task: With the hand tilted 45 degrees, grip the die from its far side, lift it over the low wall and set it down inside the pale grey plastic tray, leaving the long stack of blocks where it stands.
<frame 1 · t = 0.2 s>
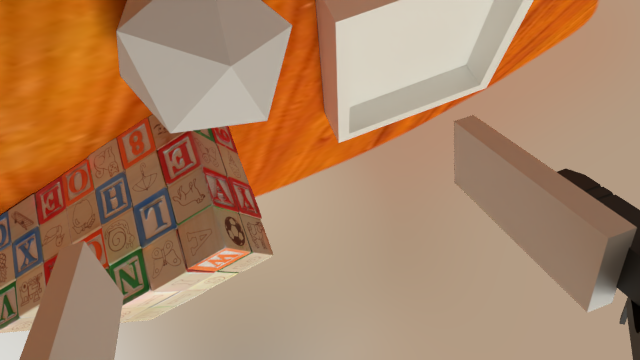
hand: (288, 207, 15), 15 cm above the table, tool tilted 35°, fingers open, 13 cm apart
tray: (408, 29, 33), on the table
stack of blocks: (106, 171, 35), on the table
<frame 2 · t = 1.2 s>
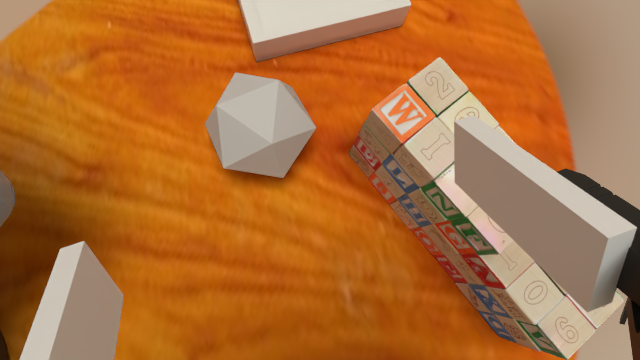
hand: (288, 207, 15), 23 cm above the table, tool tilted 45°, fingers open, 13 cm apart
stack of blocks: (443, 221, 39), on the table
die: (262, 139, 39), on the table
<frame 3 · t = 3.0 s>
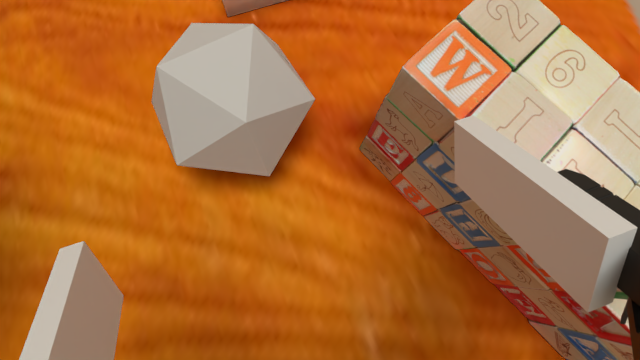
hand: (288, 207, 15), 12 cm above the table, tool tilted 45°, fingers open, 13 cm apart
stack of blocks: (502, 233, 27), on the table, touching gripper
die: (240, 123, 27), on the table
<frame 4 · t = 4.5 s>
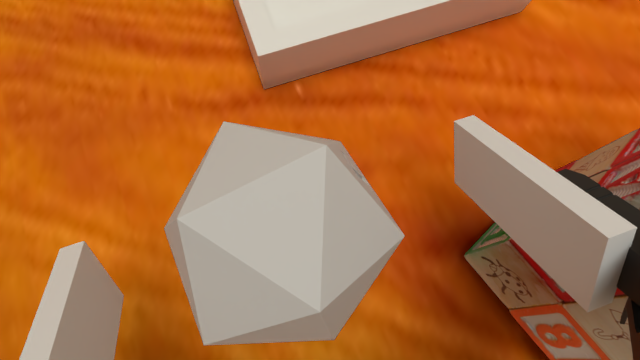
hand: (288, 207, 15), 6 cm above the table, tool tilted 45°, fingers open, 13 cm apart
die: (282, 237, 20), on the table
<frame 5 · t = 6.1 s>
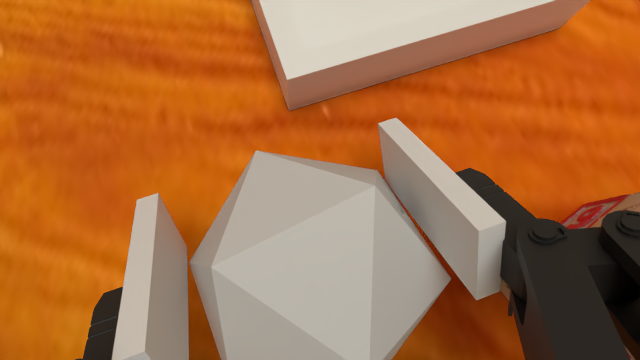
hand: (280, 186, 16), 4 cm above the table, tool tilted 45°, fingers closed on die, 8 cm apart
die: (310, 268, 19), on the table, touching gripper
when the fingers open (6 cm above the table, at t = 11.9 s): die stays where it is, resting on tray.
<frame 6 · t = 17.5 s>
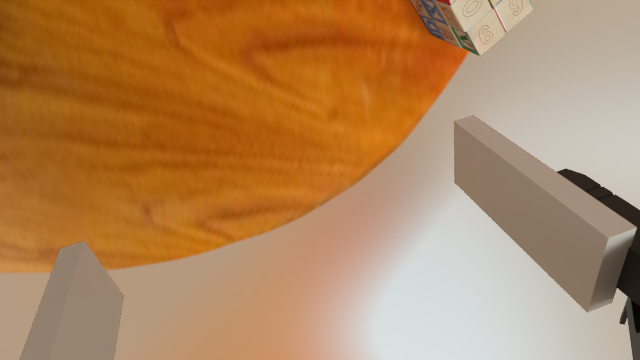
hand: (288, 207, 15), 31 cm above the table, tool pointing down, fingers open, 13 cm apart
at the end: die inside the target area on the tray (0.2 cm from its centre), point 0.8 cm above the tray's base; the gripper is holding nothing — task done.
